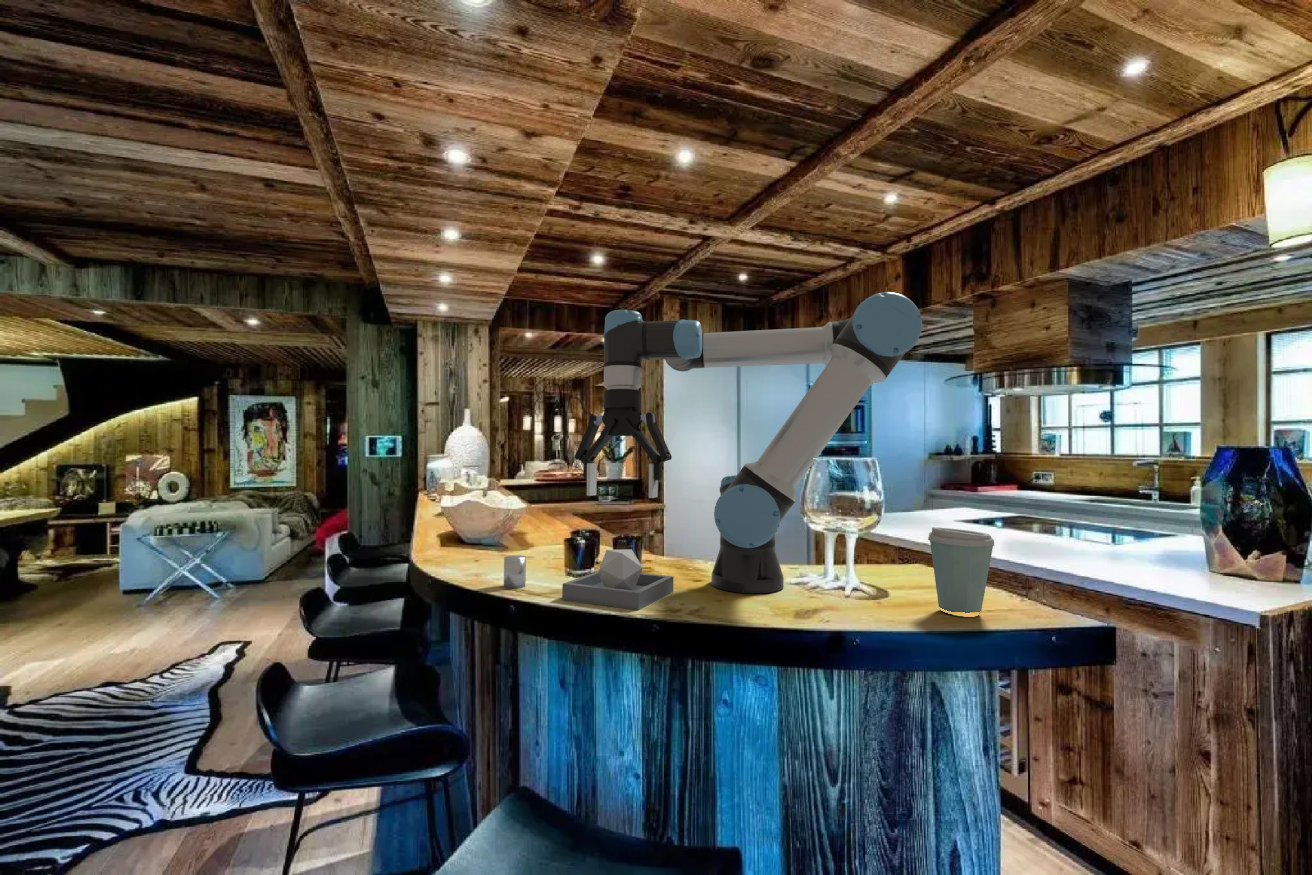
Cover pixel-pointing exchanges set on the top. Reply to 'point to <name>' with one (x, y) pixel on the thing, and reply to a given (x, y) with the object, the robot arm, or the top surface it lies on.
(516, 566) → the steel jigger
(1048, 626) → the top surface
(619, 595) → the slate tray
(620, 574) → the die
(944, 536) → the disposable coffee cup
